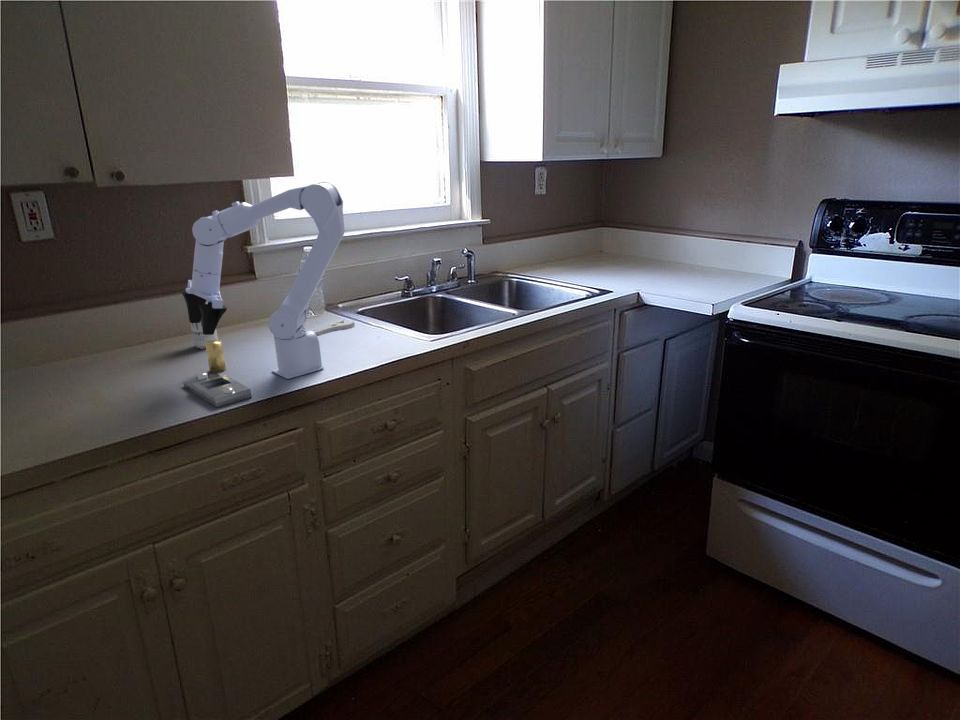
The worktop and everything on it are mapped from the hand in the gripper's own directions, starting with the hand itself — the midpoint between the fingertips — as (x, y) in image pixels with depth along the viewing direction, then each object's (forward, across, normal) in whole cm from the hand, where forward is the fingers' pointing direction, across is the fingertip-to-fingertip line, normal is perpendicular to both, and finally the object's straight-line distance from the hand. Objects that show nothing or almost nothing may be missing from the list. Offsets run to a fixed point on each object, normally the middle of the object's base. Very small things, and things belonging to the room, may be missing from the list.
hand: (201, 328), depth 143 cm
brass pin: (+11, +1, +5) cm, 12 cm away
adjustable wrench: (+7, -9, +36) cm, 38 cm away
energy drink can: (+14, -21, +11) cm, 27 cm away
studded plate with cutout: (+9, +14, -2) cm, 17 cm away
